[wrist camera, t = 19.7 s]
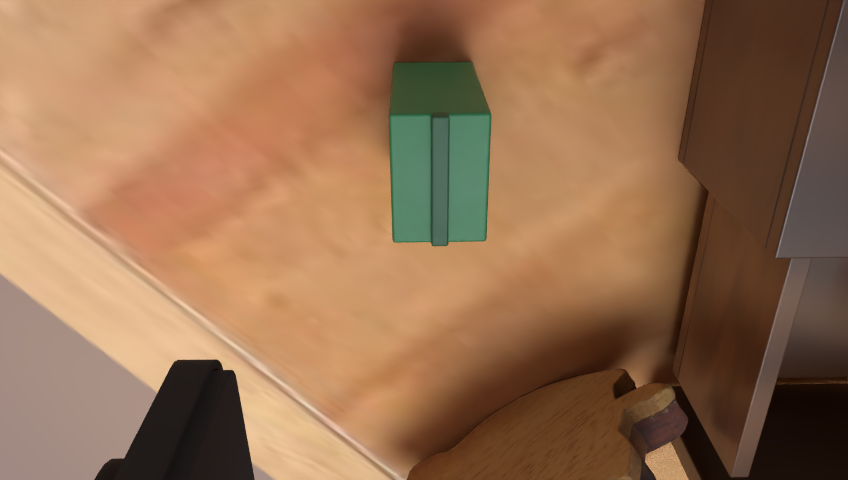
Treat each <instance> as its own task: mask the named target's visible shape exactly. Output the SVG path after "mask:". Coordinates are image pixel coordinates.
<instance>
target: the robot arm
mask: <svg viewBox="0 0 848 480" xmlns="http://www.w3.org/2000/svg"><path fill="white" fill-rule="evenodd" d="M95 480H254V474H253V468H252V463H251V457H250V452H249V446H248V441H247V435H246V430H245V424H244V418H243V413H242V407H241V402H240V396H239V391H238V385H237V380H236V375H235V373H234V371H232V370H223V368H222V365H221V363H220V361H219V360H177V361H175V362H174V363H173V365H172V366H171V368H170V370H169V372H168V374H167V376H166V378H165V380H164V382H163V383H162V385H161V387H160V389H159V391H158V393H157V395H156V397H155V399H154V401H153V403H152V405H151V407H150V409H149V411H148V413H147V415H146V417H145V419H144V421H143V423H142V425H141V427H140V429H139V431H138V433H137V434H136V436H135V438H134V440H133V442H132V444H131V446H130V449H129V450H128V452H127V454H126V456H125V458H124V459H111V460H109V461H108V462H107V463H105V464H104V466H103V467H102V469H101V470H100V471H99V473H98V474H97V476H96V478H95Z"/></svg>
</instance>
